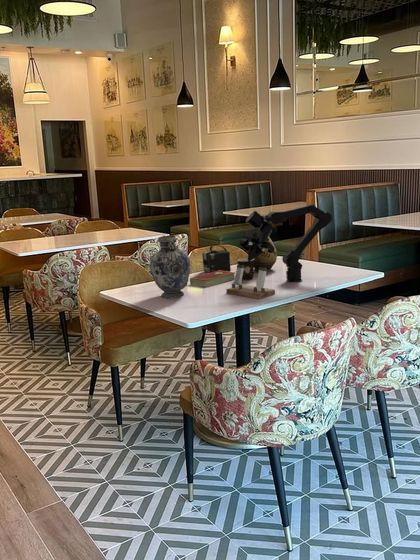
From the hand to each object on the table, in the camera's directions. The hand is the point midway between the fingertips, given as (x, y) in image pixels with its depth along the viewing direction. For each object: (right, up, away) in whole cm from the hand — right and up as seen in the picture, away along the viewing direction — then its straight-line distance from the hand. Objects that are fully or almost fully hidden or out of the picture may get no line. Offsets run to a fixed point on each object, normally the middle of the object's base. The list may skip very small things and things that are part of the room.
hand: (248, 260), depth 250 cm
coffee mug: (+2, -9, +25) cm, 26 cm away
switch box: (0, -15, -7) cm, 17 cm away
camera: (-14, -4, +51) cm, 53 cm away
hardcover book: (-16, -11, +24) cm, 31 cm away
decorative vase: (-36, -17, +1) cm, 39 cm away
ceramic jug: (+12, -4, +46) cm, 47 cm away
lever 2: (+4, -13, -14) cm, 20 cm away
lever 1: (-6, -12, -3) cm, 14 cm away
